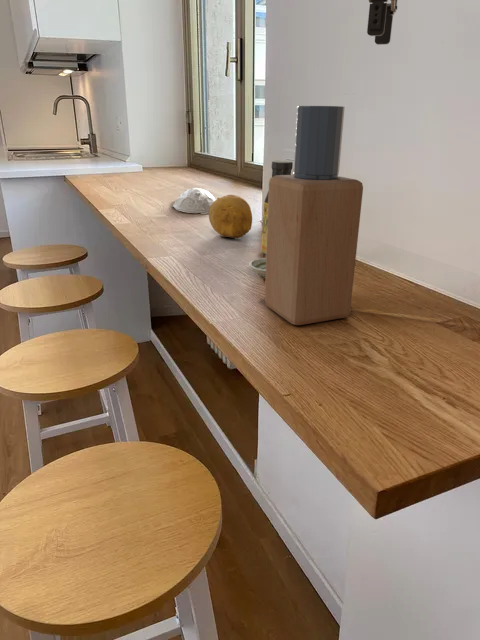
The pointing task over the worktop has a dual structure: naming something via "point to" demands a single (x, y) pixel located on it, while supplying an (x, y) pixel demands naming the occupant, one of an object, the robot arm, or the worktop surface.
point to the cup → (318, 142)
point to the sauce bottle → (277, 169)
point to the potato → (230, 216)
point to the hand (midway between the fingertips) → (378, 40)
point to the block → (311, 247)
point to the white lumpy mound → (194, 201)
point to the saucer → (259, 266)
